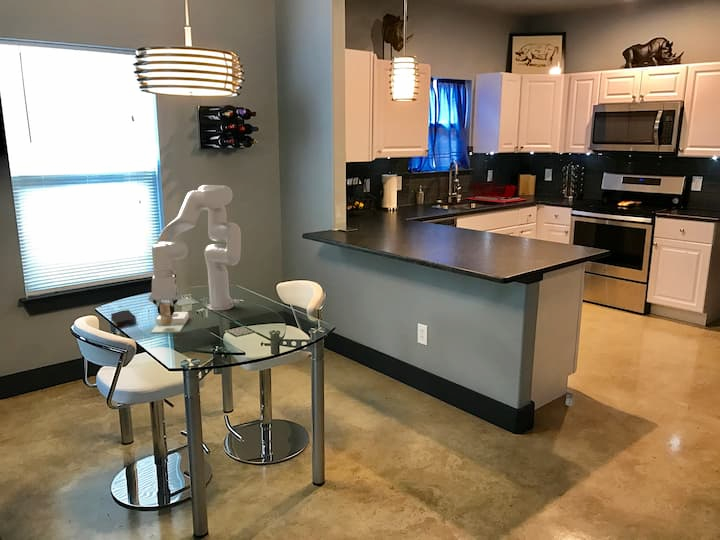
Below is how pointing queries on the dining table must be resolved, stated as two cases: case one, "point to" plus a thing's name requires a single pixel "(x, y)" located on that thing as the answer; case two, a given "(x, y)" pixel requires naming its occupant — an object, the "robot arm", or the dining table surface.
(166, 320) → the plug
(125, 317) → the black sponge
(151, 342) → the dining table surface
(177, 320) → the socket block
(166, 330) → the mat
